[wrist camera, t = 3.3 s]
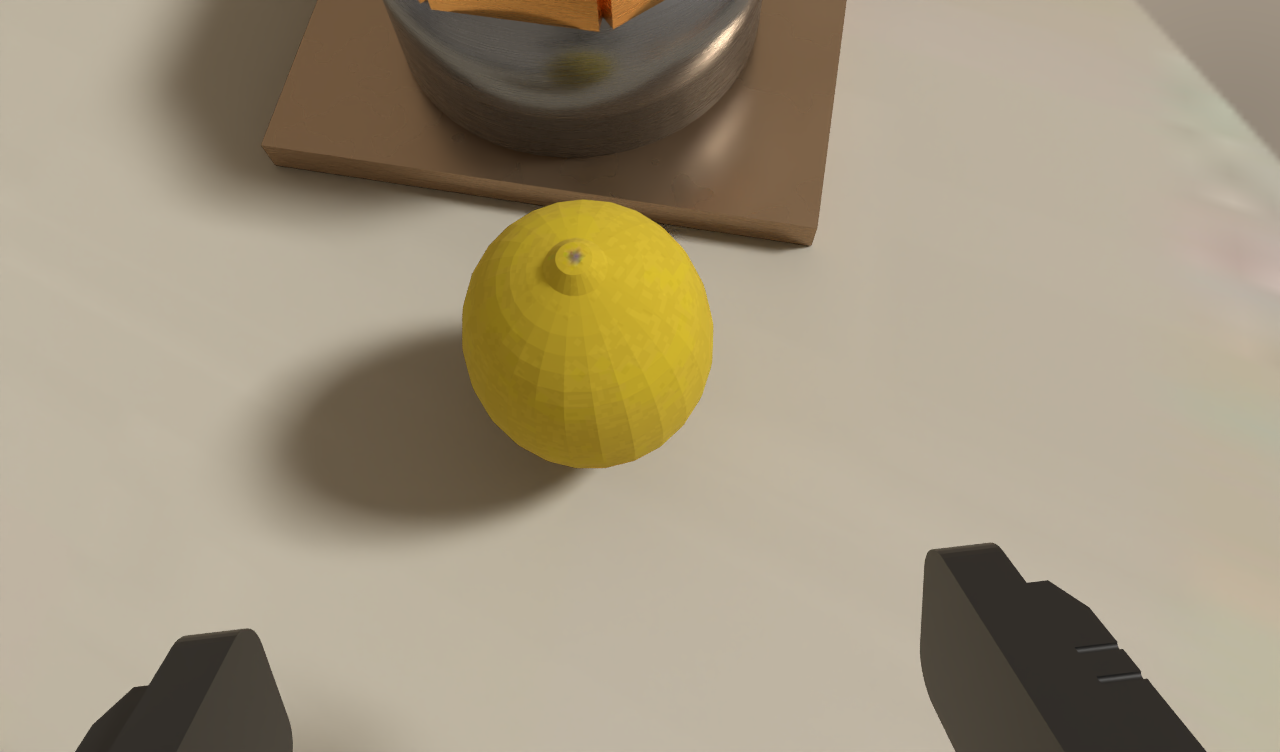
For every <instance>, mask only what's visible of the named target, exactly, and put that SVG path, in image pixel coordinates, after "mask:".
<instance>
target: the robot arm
mask: <svg viewBox="0 0 1280 752" xmlns="http://www.w3.org/2000/svg"><path fill="white" fill-rule="evenodd" d="M920 658H921V666H922V672H923V677H924V681H925V685H926V688H927V691H928V694H929V697H930V700H931V702H932V704H933V706H934V709H935V711H936V713H937V715H938V717H939V719H940V721H941V723H942V725H943V727H944V729H945V731H946V733H947V735H948V737H949V739H950V741H951V743H952V745H953V747H954V749H955V751H956V752H1206V751H1205V749H1204V748H1203V747H1202V746H1201V744H1200V743H1199V742H1198V741H1197V739H1196V738H1195V737H1194V736H1193V735H1192V733H1191V732H1190V731H1189V730H1188V728H1187V727H1186V726H1185V725H1184V723H1183V722H1182V721H1181V720H1180V719H1179V717H1178V716H1177V715H1176V714H1175V712H1174V711H1173V710H1172V709H1171V707H1170V706H1169V705H1168V704H1167V703H1166V701H1165V700H1164V699H1163V698H1162V696H1161V695H1160V694H1159V693H1158V691H1157V690H1156V689H1155V688H1154V687H1153V685H1152V684H1151V683H1150V682H1149V680H1148V679H1143V678H1142V676H1141V671H1140V669H1139V668H1138V667H1137V666H1136V664H1135V663H1134V662H1133V661H1132V659H1131V658H1130V657H1129V656H1128V655H1127V653H1126V652H1125V651H1124V650H1123V649H1119V648H1118V645H1117V641H1116V640H1115V639H1114V637H1113V636H1112V635H1111V634H1110V632H1109V631H1108V630H1107V629H1106V628H1105V626H1104V625H1103V624H1102V623H1101V621H1100V620H1099V619H1098V618H1097V616H1096V615H1095V614H1094V613H1093V612H1092V610H1091V609H1090V608H1089V607H1088V606H1086V605H1085V604H1083V603H1082V602H1080V601H1078V600H1077V599H1075V598H1074V597H1072V596H1071V595H1069V594H1068V593H1066V592H1065V591H1063V590H1062V589H1060V588H1059V587H1057V586H1056V585H1054V584H1053V583H1051V582H1050V581H1048V580H1047V581H1039V582H1031V583H1026V581H1025V580H1024V579H1023V577H1022V576H1021V575H1020V573H1019V572H1018V571H1017V569H1016V568H1015V567H1014V565H1013V564H1012V563H1011V561H1010V560H1009V558H1008V557H1007V556H1006V554H1005V553H1004V552H1003V551H1002V549H1001V548H1000V547H999V546H998V545H996V544H994V543H983V544H975V545H966V546H958V547H949V548H941V549H932V550H930V551H929V552H928V553H927V555H926V559H925V566H924V583H923V601H922V620H921V638H920ZM75 752H293V741H292V731H291V726H290V722H289V719H288V716H287V713H286V710H285V707H284V705H283V702H282V699H281V696H280V693H279V691H278V688H277V685H276V682H275V679H274V677H273V674H272V671H271V668H270V665H269V663H268V660H267V657H266V654H265V651H264V649H263V646H262V643H261V641H260V638H259V637H258V635H257V634H256V633H255V632H254V631H253V630H251V629H239V630H230V631H222V632H213V633H205V634H196V635H188V636H183V637H181V638H180V639H178V640H177V641H176V642H175V644H174V645H173V646H172V648H171V649H170V651H169V653H168V654H167V656H166V658H165V659H164V661H163V663H162V664H161V666H160V668H159V669H158V671H157V673H156V674H155V676H154V678H153V679H152V681H151V683H150V684H149V685H148V686H140V687H134V688H132V689H131V690H130V691H129V692H128V693H127V694H126V695H125V696H124V697H123V698H122V699H120V700H119V701H118V702H117V703H116V704H115V705H114V706H113V707H112V708H111V709H109V710H108V711H107V712H106V713H105V714H104V715H103V716H102V717H101V718H100V719H98V720H97V721H96V722H95V723H94V724H93V725H92V727H91V728H90V730H89V731H88V733H87V734H86V736H85V737H84V739H83V741H82V742H81V744H80V745H79V747H78V748H77V750H76V751H75Z"/></svg>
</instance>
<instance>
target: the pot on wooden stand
mask: <svg viewBox="0 0 1280 752" xmlns="http://www.w3.org/2000/svg"><path fill="white" fill-rule="evenodd" d="M846 1H847V0H317V3H316V5H315V8H314V10H313V13H312V15H311V18H310V21H309V23H308V26H307V28H306V31H305V33H304V36H303V38H302V41H301V44H300V46H299V49H298V51H297V54H296V56H295V59H294V62H293V64H292V67H291V69H290V72H289V74H288V77H287V79H286V82H285V85H284V87H283V90H282V92H281V95H280V97H279V100H278V103H277V105H276V108H275V110H274V113H273V115H272V118H271V120H270V123H269V126H268V128H267V131H266V133H265V136H264V138H263V141H262V144H261V146H262V147H263V149H264V150H265V152H266V153H267V154H268V156H269V157H270V158H271V160H272V161H273V163H274V164H275V165H278V166H285V167H292V168H298V169H305V170H312V171H318V172H325V173H332V174H338V175H345V176H351V177H358V178H365V179H371V180H378V181H385V182H391V183H398V184H404V185H411V186H418V187H424V188H431V189H438V190H444V191H451V192H457V193H464V194H471V195H477V196H484V197H491V198H497V199H504V200H511V201H517V202H524V203H530V204H537V205H544V206H549V205H551V204H554V203H557V202H566V201H574V200H582V199H583V200H594V201H604V202H612V203H615V204H618V205H621V206H624V207H627V208H630V209H633V210H636V211H638V212H639V213H641V214H643V215H644V216H646V217H647V218H649V219H651V220H652V221H654V222H656V223H663V224H670V225H676V226H683V227H690V228H696V229H703V230H709V231H716V232H723V233H729V234H736V235H743V236H749V237H756V238H762V239H769V240H776V241H782V242H789V243H796V244H802V245H809V246H811V245H812V242H813V239H814V236H815V233H816V230H817V226H818V218H819V211H820V203H821V195H822V187H823V180H824V172H825V164H826V156H827V148H828V141H829V133H830V125H831V117H832V110H833V102H834V94H835V86H836V78H837V71H838V63H839V55H840V47H841V40H842V32H843V24H844V16H845V8H846Z"/></svg>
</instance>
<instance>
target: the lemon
mask: <svg viewBox="0 0 1280 752" xmlns="http://www.w3.org/2000/svg"><path fill="white" fill-rule="evenodd" d="M462 347H463V354H464V358H465V362H466V365H467V369H468V373H469V376H470V380H471V384H472V387H473V389H474V391H475V393H476V395H477V396H478V398H479V400H480V401H481V403H482V405H483V406H484V408H485V410H486V411H487V413H488V415H489V416H490V418H491V419H492V421H493V422H494V423H495V424H496V425H497V426H498V427H499V428H501V429H502V430H503V431H504V432H505V433H506V434H507V435H508V436H509V437H510V438H511V439H512V440H513V441H514V442H515V443H517V444H518V445H519V446H521V447H523V448H524V449H526V450H528V451H530V452H532V453H534V454H535V455H537V456H539V457H541V458H543V459H544V460H547V461H549V462H553V463H557V464H561V465H566V466H570V467H574V468H607V467H611V466H615V465H619V464H623V463H627V462H631V461H635V460H637V459H638V458H640V457H642V456H644V455H646V454H648V453H650V452H651V451H653V450H655V449H657V448H659V447H660V446H662V445H663V444H664V443H665V442H666V441H667V440H668V439H669V438H670V437H671V436H672V435H673V434H675V433H676V432H677V431H678V430H679V429H680V428H681V427H682V426H683V425H684V423H685V422H686V420H687V419H688V417H689V416H690V414H691V413H692V411H693V409H694V408H695V406H696V405H697V403H698V402H699V400H700V398H701V396H702V393H703V390H704V387H705V384H706V381H707V378H708V375H709V372H710V368H711V364H712V351H713V321H712V317H711V312H710V308H709V304H708V300H707V296H706V291H705V288H704V285H703V283H702V281H701V279H700V277H699V275H698V273H697V272H696V270H695V268H694V266H693V264H692V262H691V261H690V259H689V257H688V255H687V253H686V252H685V251H684V249H683V248H682V247H681V246H680V245H679V244H678V243H677V242H676V241H675V240H674V239H673V238H672V237H671V236H670V234H669V233H668V232H667V231H666V230H665V229H664V228H662V227H661V226H660V225H659V224H657V223H655V222H654V221H652V220H651V219H649V218H647V217H646V216H644V215H643V214H641V213H639V212H638V211H636V210H633V209H630V208H627V207H624V206H621V205H618V204H615V203H612V202H604V201H594V200H583V199H582V200H574V201H566V202H557V203H554V204H551V205H549V206H546V207H543V208H540V209H537V210H534V211H532V212H530V213H528V214H527V215H525V216H524V217H522V218H520V219H519V220H517V221H516V222H514V223H513V224H511V225H509V226H508V227H507V228H506V229H505V230H504V231H503V232H502V233H501V234H500V235H499V236H498V237H497V238H496V239H495V240H494V241H493V242H492V243H491V244H490V245H489V246H488V248H487V250H486V251H485V253H484V255H483V256H482V258H481V260H480V261H479V263H478V265H477V266H476V268H475V270H474V272H473V273H472V276H471V280H470V283H469V287H468V290H467V294H466V297H465V301H464V305H463V314H462Z"/></svg>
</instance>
